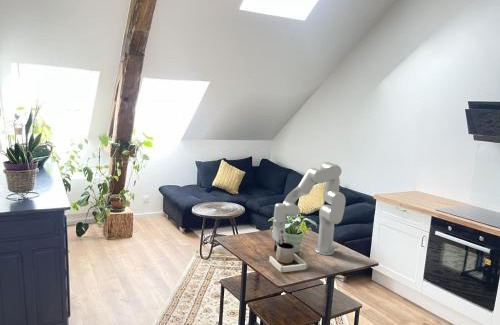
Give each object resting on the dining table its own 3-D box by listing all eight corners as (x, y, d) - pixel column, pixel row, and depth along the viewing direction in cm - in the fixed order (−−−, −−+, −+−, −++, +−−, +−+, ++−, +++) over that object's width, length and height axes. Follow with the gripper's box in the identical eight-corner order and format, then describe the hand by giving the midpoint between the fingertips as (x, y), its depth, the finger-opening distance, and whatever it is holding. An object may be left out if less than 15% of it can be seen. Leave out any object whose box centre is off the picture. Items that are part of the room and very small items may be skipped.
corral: (294, 258, 231) (294, 253, 231) (307, 269, 216) (308, 264, 216) (269, 261, 225) (269, 256, 224) (281, 272, 210) (281, 267, 209)
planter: (295, 264, 222) (297, 249, 221) (277, 263, 220) (279, 248, 219) (290, 256, 233) (292, 242, 231) (273, 256, 231) (275, 241, 229)
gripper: (290, 226, 225) (287, 255, 227) (279, 219, 239) (277, 246, 241) (278, 227, 222) (276, 256, 225) (269, 219, 236) (266, 247, 238)
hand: (276, 251), depth 233 cm, fingers closed
